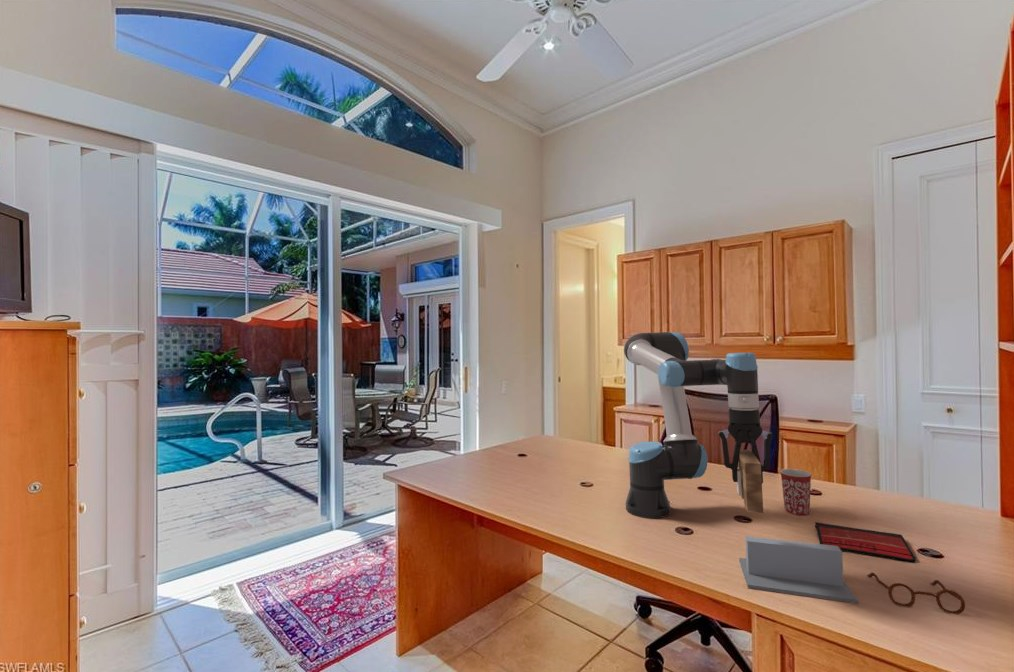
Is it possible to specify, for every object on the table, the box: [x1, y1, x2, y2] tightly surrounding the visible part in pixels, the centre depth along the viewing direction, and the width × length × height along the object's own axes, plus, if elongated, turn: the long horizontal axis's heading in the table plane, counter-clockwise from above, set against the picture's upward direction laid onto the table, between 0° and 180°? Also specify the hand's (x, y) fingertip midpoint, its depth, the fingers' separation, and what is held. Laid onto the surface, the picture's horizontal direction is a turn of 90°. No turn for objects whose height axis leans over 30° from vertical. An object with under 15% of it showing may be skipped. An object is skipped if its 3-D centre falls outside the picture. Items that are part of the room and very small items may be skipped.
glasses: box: [866, 572, 966, 615], centre depth 103 cm, size 13×13×5 cm
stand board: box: [738, 535, 859, 605], centre depth 110 cm, size 22×14×9 cm, turn 70°
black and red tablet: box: [814, 521, 917, 564], centre depth 128 cm, size 16×2×21 cm
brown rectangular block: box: [737, 449, 764, 514], centre depth 118 cm, size 4×16×12 cm, turn 159°
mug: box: [779, 468, 813, 517], centre depth 154 cm, size 13×9×14 cm
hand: (748, 494), depth 122 cm, fingers closed on brown rectangular block, 3 cm apart
